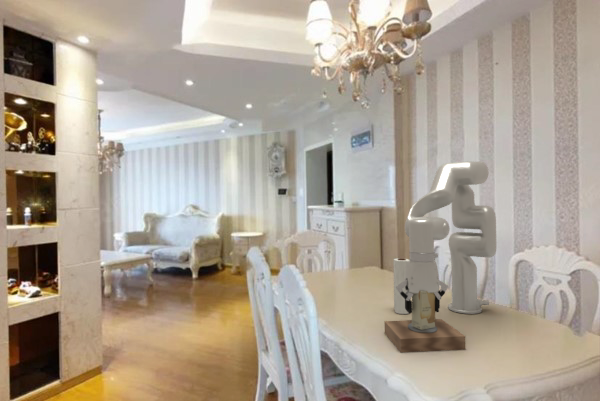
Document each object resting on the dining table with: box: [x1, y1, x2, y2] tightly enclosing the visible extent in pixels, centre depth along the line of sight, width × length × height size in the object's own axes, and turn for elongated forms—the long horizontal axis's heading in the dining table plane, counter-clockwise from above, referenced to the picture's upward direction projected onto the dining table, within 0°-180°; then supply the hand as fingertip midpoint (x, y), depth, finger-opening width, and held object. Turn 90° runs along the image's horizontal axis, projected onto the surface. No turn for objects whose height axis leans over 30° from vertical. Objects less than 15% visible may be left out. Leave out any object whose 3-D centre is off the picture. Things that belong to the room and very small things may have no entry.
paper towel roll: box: [392, 257, 410, 315], centre depth 149 cm, size 7×6×21 cm
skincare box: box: [411, 291, 436, 330], centre depth 119 cm, size 6×4×12 cm
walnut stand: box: [384, 318, 467, 353], centre depth 119 cm, size 20×16×4 cm
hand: (422, 311), depth 119 cm, fingers open, 8 cm apart
